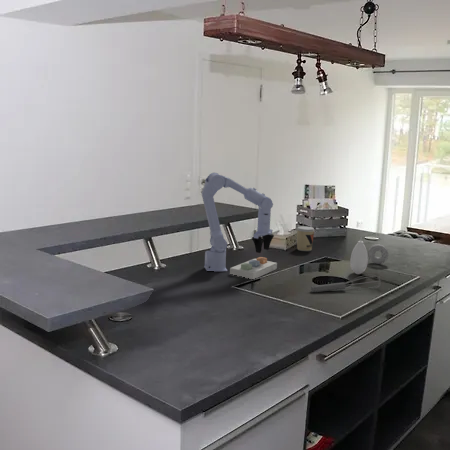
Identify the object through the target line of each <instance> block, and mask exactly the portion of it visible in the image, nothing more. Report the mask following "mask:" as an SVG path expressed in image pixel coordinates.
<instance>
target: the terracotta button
mask: <svg viewBox="0 0 450 450" xmlns="http://www.w3.org/2000/svg"><path fill="white" fill-rule="evenodd" d="M256 259H257V261H260V263H261V264H265V263H267V261H268V258H267V257H263V256H259V257H257V258H256Z"/></svg>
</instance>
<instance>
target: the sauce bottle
mask: <svg viewBox="0 0 450 450" xmlns="http://www.w3.org/2000/svg"><path fill="white" fill-rule="evenodd" d="M350 254H351V255H350V260H349V263H350V264H349V265H350V268H351V271H353V272H354V274H356V275H361V274H363V273H364V272H365V270H366V269H367V267H368V262H369V257H368V250H367V248H366V245H365V244H364V241H363V240H362V236H360V239H359V240H358V241H357V243H356V244H355V245H354V246H353V249H352V251H351V253H350Z"/></svg>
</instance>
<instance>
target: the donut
mask: <svg viewBox="0 0 450 450" xmlns="http://www.w3.org/2000/svg"><path fill="white" fill-rule="evenodd" d="M376 252H380V253H381V255H380V256H376ZM367 254H368V260H370V261H371V262H372V263H373V264H377V265H381V264H384V263H385V262H387V260H388V259H389V251H388V249H387V248H386V246H384V245H383V244H379V243H378V244H377V243H376V244H373V245H371V246H370V247H369V249H368V250H367Z"/></svg>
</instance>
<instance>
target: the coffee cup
mask: <svg viewBox="0 0 450 450" xmlns="http://www.w3.org/2000/svg"><path fill="white" fill-rule="evenodd" d="M296 232H297V233H296V243H297V244H296V246H297V247H296V249H297V250H298V251H301V252H311V251H312V250H313V242H314V235H315V232H316V231H315V228H314V227H312V226H306V225H305V226H303V225H301V226H297V228H296Z"/></svg>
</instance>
